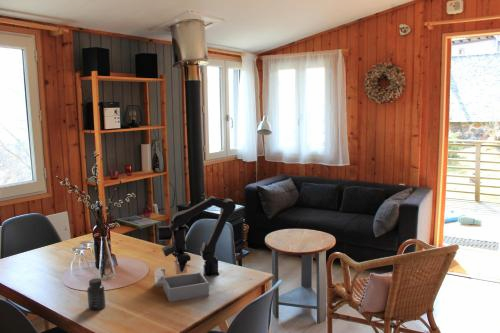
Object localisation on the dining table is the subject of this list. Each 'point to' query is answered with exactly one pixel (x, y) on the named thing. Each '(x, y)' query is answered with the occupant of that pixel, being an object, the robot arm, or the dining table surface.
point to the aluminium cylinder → (159, 276)
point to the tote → (185, 286)
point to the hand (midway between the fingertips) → (180, 269)
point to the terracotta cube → (177, 267)
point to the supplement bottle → (96, 295)
